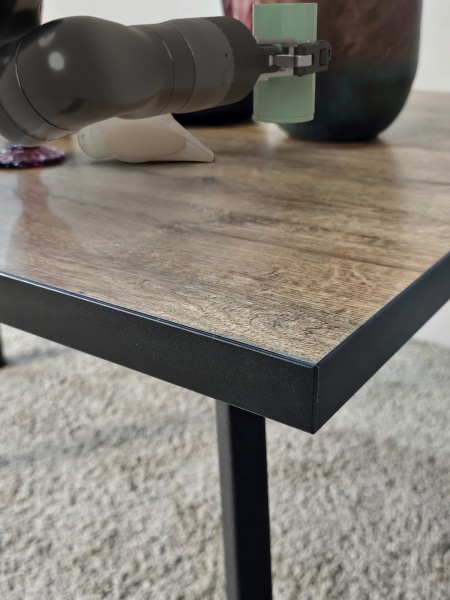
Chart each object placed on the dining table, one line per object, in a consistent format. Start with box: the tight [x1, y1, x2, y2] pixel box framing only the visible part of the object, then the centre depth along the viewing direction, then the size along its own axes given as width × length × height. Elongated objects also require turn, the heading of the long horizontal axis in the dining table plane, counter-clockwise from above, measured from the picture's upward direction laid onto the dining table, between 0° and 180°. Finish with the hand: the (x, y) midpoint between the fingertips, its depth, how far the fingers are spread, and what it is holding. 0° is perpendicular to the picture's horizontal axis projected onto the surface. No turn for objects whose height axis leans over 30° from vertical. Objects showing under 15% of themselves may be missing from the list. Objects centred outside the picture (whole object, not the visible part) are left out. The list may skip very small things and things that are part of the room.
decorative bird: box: [76, 113, 215, 164], centre depth 87 cm, size 9×16×8 cm, turn 97°
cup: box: [252, 2, 318, 124], centre depth 74 cm, size 6×6×11 cm
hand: (295, 50), depth 76 cm, fingers closed on cup, 6 cm apart
